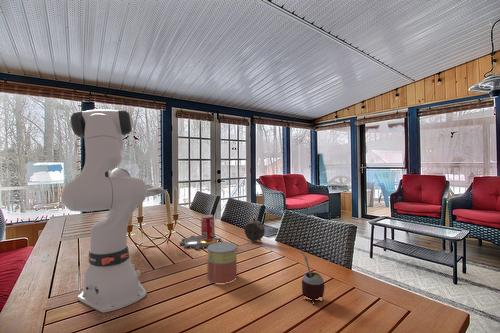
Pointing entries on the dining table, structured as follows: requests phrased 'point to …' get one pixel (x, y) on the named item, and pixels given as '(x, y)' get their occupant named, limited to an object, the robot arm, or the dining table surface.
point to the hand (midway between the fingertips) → (160, 192)
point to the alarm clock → (254, 230)
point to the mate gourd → (312, 283)
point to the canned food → (221, 262)
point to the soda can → (207, 227)
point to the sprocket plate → (197, 242)
